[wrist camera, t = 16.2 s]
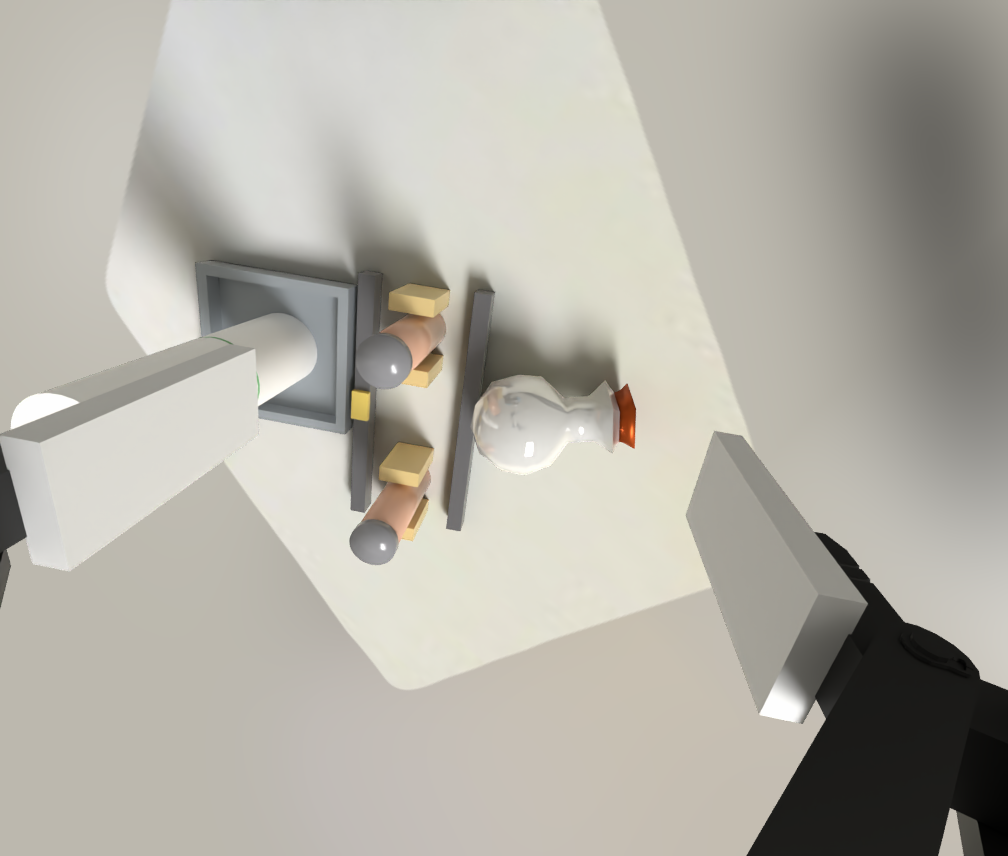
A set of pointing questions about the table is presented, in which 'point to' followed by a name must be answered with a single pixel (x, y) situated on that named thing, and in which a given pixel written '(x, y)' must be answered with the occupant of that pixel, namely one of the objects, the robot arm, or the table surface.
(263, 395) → the cylindrical container
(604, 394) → the potion bottle
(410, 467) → the fuse holder
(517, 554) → the table surface
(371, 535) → the fuse
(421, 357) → the cylinder
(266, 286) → the tray
